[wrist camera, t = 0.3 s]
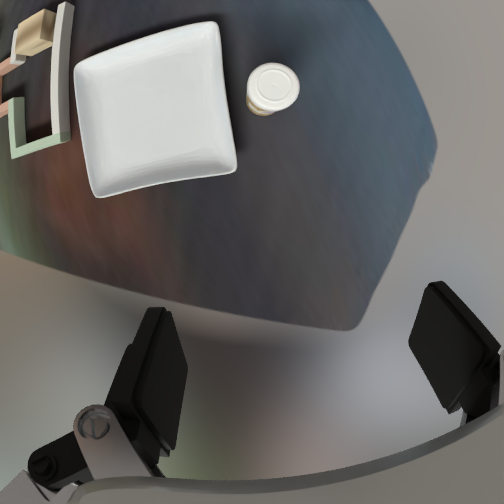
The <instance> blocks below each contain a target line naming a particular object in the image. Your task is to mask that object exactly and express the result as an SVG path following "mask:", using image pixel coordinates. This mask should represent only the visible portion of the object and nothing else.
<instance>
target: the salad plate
mask: <svg viewBox="0 0 504 504" xmlns="http://www.w3.org/2000/svg"><path fill="white" fill-rule="evenodd" d="M74 86H75V96H76V104H77V112H78V119H79V126H80V132H81V138H82V144H83V150H84V156H85V162H86V167H87V172H88V177H89V182H90V186H91V189H92V192H93V194H94V196H95V197H97V198H104V197H109V196H113V195H116V194H120V193H124V192H127V191H131V190H135V189H139V188H143V187H147V186H152V185H157V184H162V183H167V182H173V181H180V180H186V179H193V178H201V177H208V176H217V175H224V174H229V173H232V172H234V171H236V169H237V157H236V150H235V144H234V139H233V133H232V127H231V122H230V116H229V109H228V103H227V97H226V89H225V81H224V73H223V61H222V45H221V37H220V30H219V26H218V24H217V23H216V22H213V21H207V22H200V23H194V24H189V25H185V26H181V27H177V28H173V29H169V30H166V31H162V32H159V33H156V34H152V35H149V36H146V37H143V38H140V39H137V40H134V41H131V42H128V43H125V44H122V45H120V46H117V47H114V48H111V49H109V50H106V51H104V52H101V53H99V54H96V55H94V56H91V57H89V58H87V59H85V60H83V61H81V62H79V63H78V64H77V65H76V66H75V68H74Z"/></svg>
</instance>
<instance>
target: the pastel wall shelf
mask: <svg viewBox="0 0 504 504" xmlns="http://www.w3.org/2000/svg"><path fill="white" fill-rule="evenodd" d="M74 8H75V6H73V5H72V4H70V3H68V2H64V3H62V4H59V5H58V10H57V15H56V22H55V29H54V38H53V48H52V62H51V120H52V135H51V136H48V137H45V138H42V139H39V140H36V141H34V142H31V143H28V144H27V143H26V131H25V109H24V97H13V98H12V99H10V100H8V101H6V102H5V103H3V104H2V76H3V75H5V74H6V73H8V72H9V71H11V70H13V69H14V68H16V67H18V66H19V65H21V64H23V63H24V62H26V55H21V54H14V53H15V45H16V38H17V32H18V29H16V30H15V31H14V36H13V42H12V50H11V57H9V58H8V59H6V60H5V61H3V62H2V63H0V117H2V116H4V115H6V114H8V118H9V136H10V148H11V157H12V159H14V158H17V157H20V156H23V155H26V154H29V153H32V152H35V151H38V150H41V149H44V148H47V147H50V146H53V145H56V144H60V143H63V142H67V141H70V140H71V131H70V116H69V56H70V42H71V31H72V22H73V15H74Z"/></svg>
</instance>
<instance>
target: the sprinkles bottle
mask: <svg viewBox="0 0 504 504" xmlns="http://www.w3.org/2000/svg"><path fill="white" fill-rule="evenodd" d="M299 90H300V85H299V80H298V78H297V76H296V74H295V73H294V72H293V71H292V70H291V69H290V68H289V67H287V66H285V65H283V64H280V63H266V64H263V65H260V66H259V67H257V68H256V69H255V70H254V71H253V72H252V73H251V74H250V76H249V79H248V82H247V97H246V103H247V106H248V108H249V109H250V110H251V111H252V112H253V113H255V114H257V115H262V116H266V115H270V114H272V113H274V112H276V111H279V110H282V109H285V108H287V107H288V106H290V105H291V104H292V103H293V102H294V101H295V100H296V99H297V97H298V94H299Z"/></svg>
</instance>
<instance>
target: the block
mask: <svg viewBox="0 0 504 504" xmlns="http://www.w3.org/2000/svg"><path fill="white" fill-rule="evenodd" d="M56 15H57V13H54V12H52V11H49V10H47V9H43V10H41V11H40V12H38V13H36V14H34V15H33V16H31V17H29V18H28V19H26V20H25V21H23V22H21V23H20V24H19V26H18V32H17V38H16V45H15V53H14V54H21V55H27V56H33V55H35V54H37V53H39V52H41V51H43V50H44V49H46V48H48V47H51V46H53V38H54V29H55V22H56Z"/></svg>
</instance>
